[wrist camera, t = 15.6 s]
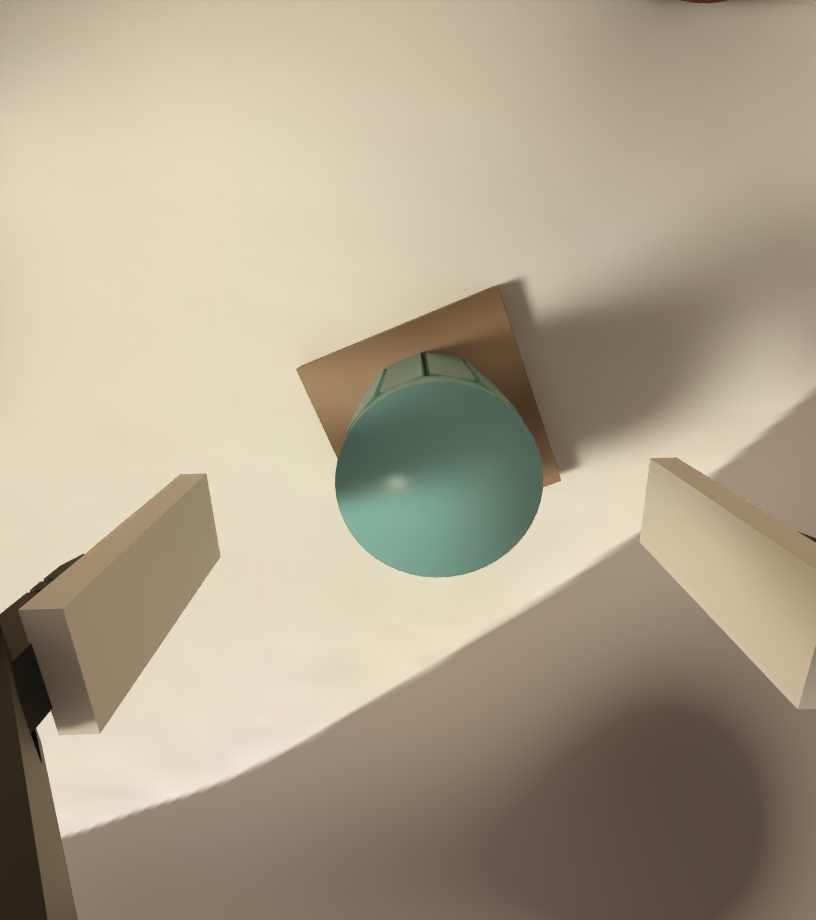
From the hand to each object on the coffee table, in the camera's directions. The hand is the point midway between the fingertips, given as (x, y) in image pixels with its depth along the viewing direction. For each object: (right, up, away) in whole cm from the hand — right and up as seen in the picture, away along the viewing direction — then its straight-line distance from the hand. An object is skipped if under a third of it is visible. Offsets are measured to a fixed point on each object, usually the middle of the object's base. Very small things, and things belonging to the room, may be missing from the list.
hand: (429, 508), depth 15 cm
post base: (+1, +3, +11) cm, 11 cm away
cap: (+1, +3, +10) cm, 10 cm away
